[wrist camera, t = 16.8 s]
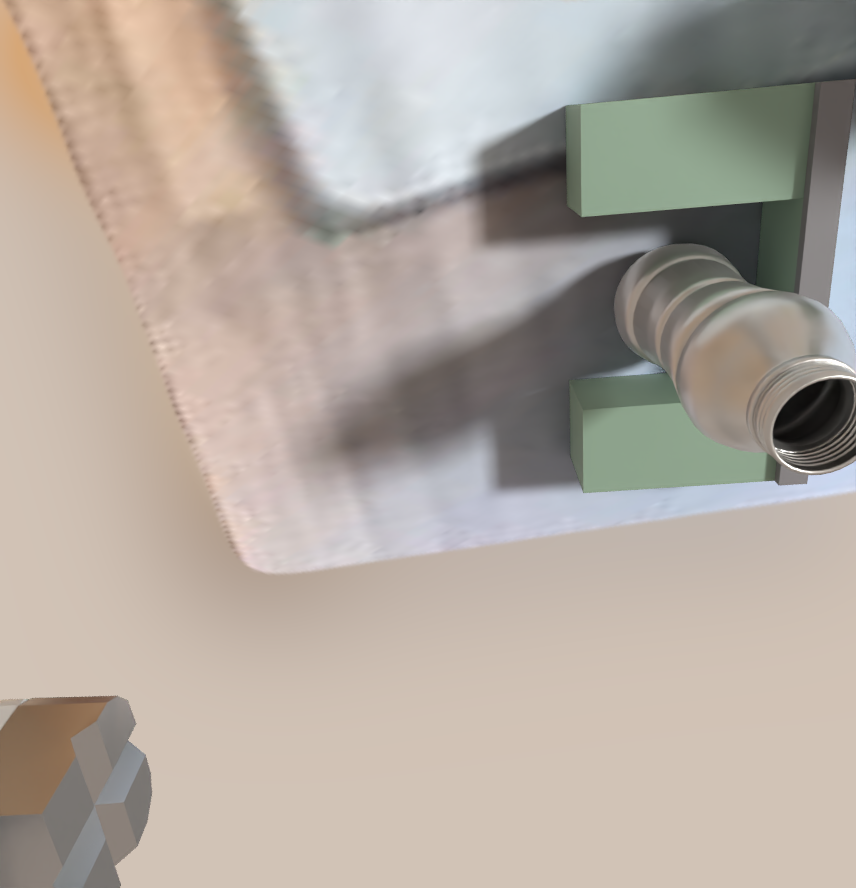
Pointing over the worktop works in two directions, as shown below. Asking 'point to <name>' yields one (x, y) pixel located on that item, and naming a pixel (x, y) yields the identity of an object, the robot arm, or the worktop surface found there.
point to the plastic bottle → (744, 357)
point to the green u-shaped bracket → (699, 185)
